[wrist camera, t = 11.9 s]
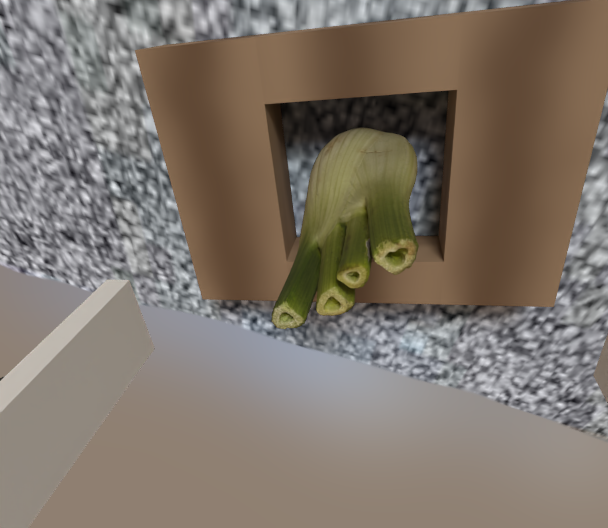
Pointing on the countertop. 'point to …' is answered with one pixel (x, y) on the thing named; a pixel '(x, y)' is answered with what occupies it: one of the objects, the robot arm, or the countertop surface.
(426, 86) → the jig block
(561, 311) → the countertop surface
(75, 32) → the countertop surface
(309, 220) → the fennel bulb
